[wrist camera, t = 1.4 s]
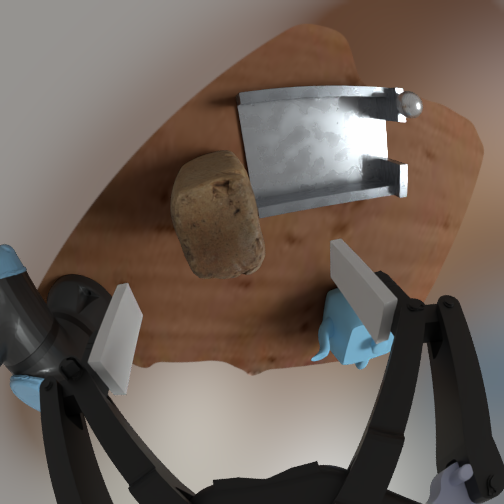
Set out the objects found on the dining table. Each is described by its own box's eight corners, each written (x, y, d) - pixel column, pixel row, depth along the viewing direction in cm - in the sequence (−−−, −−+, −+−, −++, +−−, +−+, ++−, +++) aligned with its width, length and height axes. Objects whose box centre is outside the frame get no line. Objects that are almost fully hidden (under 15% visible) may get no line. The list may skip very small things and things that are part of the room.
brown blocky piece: (181, 157, 36) (156, 192, 18) (233, 144, 36) (258, 167, 19) (199, 226, 41) (196, 310, 24) (248, 214, 42) (279, 290, 24)
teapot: (364, 252, 48) (404, 292, 36) (393, 297, 55) (426, 335, 44) (291, 313, 52) (312, 365, 40) (331, 347, 59) (353, 391, 47)
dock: (254, 208, 41) (267, 234, 32) (235, 96, 33) (245, 87, 24) (391, 185, 43) (428, 203, 34) (386, 90, 35) (426, 89, 26)
